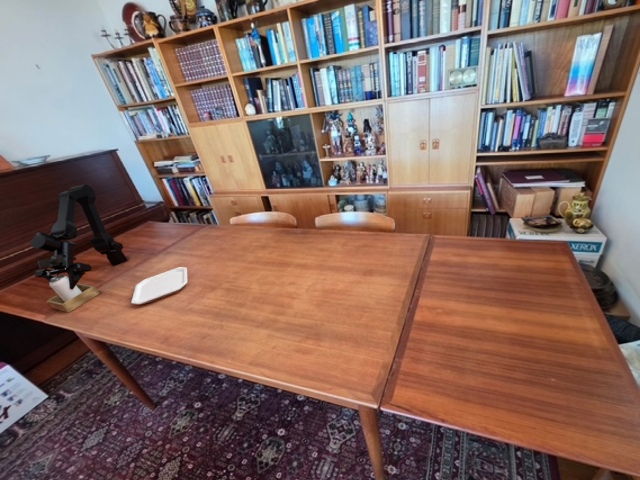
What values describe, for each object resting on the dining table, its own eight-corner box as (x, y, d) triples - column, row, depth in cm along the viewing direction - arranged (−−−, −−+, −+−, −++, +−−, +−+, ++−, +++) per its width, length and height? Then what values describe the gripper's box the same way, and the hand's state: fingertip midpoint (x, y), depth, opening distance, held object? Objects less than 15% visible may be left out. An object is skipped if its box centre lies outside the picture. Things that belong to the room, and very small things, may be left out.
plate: (132, 311, 113) (129, 307, 112) (139, 285, 129) (136, 281, 128) (189, 290, 119) (186, 285, 118) (188, 268, 135) (186, 264, 134)
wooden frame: (84, 290, 134) (78, 283, 132) (99, 293, 129) (93, 286, 127) (53, 308, 125) (46, 301, 123) (68, 312, 120) (61, 304, 118)
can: (75, 305, 124) (54, 283, 117) (63, 305, 125) (42, 283, 119) (89, 295, 129) (70, 273, 122) (78, 295, 130) (59, 273, 124)
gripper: (20, 254, 117) (18, 292, 114) (66, 245, 118) (66, 283, 114) (50, 260, 128) (49, 295, 125) (92, 252, 129) (92, 287, 125)
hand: (63, 290), depth 122 cm, fingers closed on can, 6 cm apart
